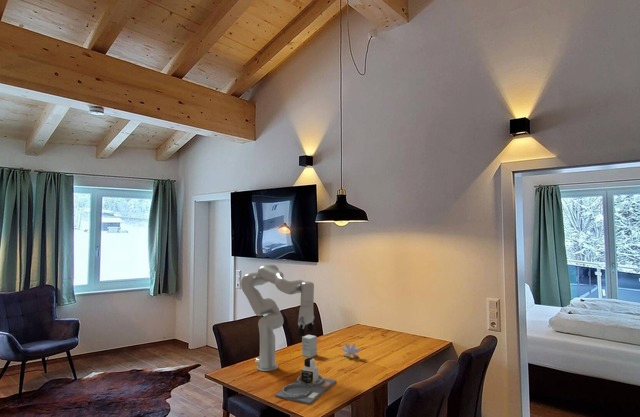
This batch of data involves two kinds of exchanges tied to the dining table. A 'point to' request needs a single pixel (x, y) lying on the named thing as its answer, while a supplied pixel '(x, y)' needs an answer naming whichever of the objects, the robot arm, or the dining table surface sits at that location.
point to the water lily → (350, 350)
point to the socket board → (314, 391)
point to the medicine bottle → (309, 371)
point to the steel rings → (300, 384)
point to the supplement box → (309, 346)
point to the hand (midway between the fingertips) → (306, 333)
